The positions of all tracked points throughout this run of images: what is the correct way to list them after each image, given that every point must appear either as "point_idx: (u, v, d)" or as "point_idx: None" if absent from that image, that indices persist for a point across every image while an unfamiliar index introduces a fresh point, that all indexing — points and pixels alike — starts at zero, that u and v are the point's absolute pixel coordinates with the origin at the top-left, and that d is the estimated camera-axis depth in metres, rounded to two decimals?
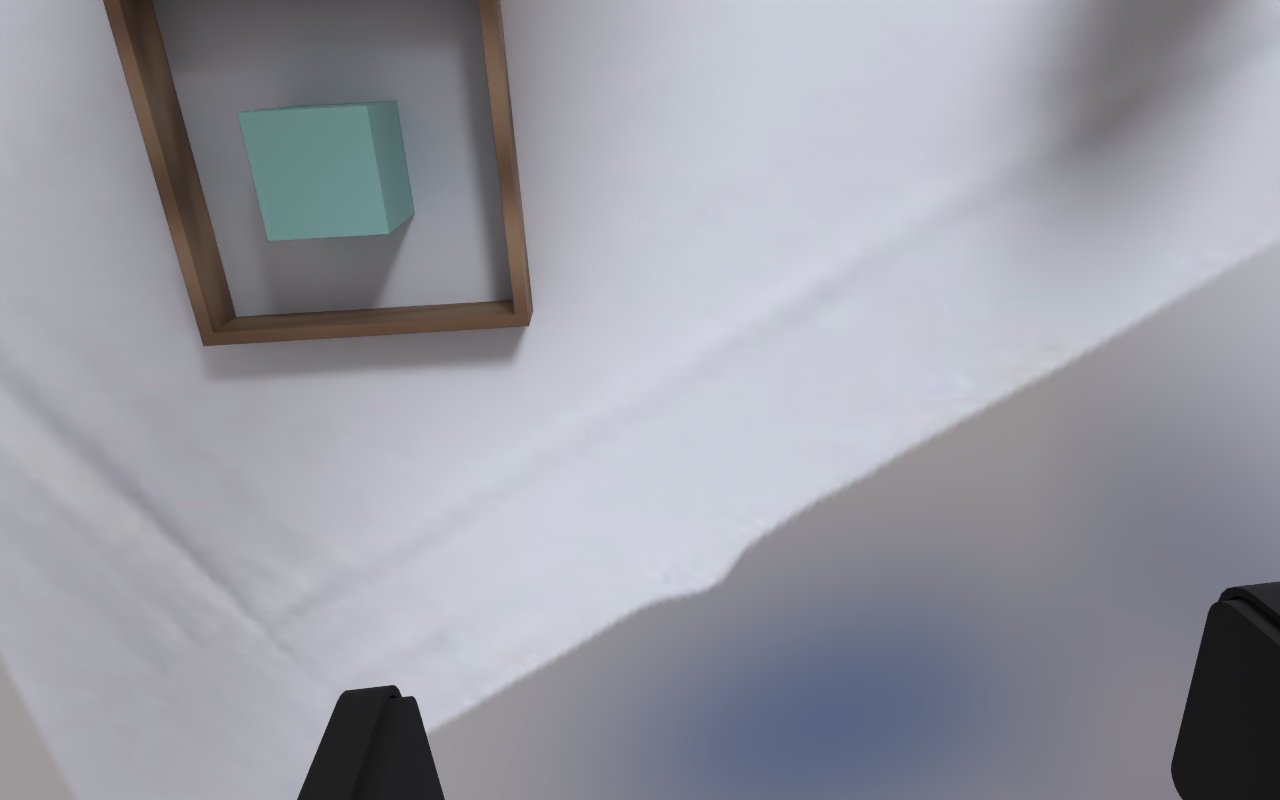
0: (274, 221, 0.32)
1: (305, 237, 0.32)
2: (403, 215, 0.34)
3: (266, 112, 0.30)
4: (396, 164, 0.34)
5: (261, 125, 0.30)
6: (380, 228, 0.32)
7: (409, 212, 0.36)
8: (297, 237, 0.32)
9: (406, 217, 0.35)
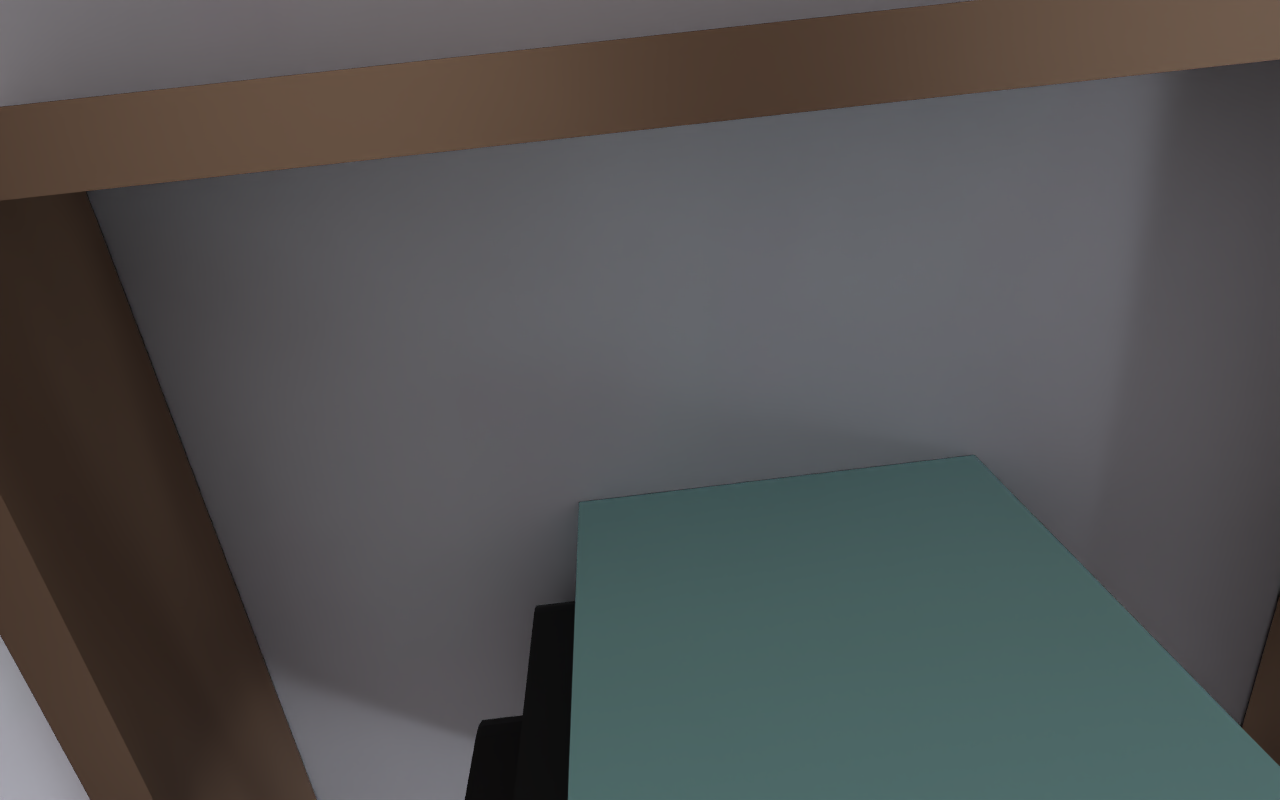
0: None
1: None
2: None
3: None
4: None
5: None
6: None
7: None
8: None
9: None
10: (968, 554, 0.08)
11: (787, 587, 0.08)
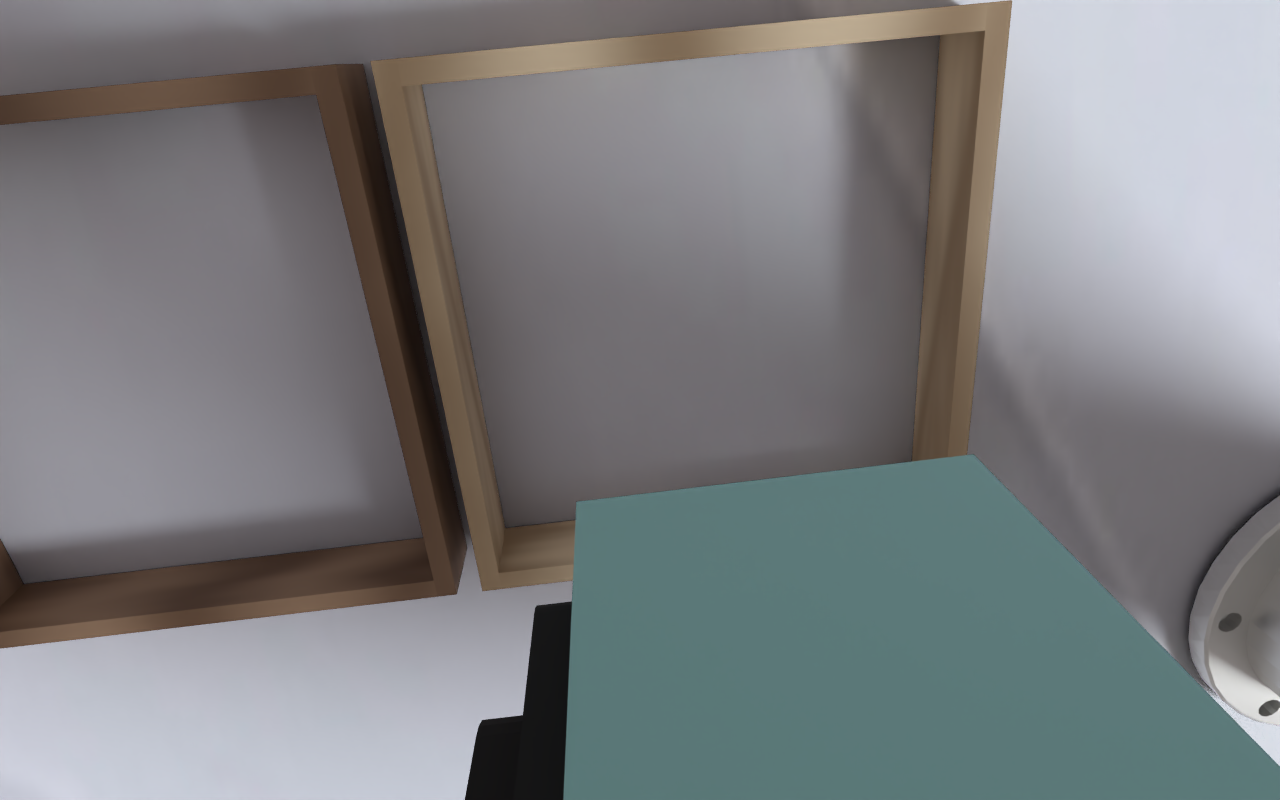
0: None
1: None
2: None
3: None
4: None
5: None
6: None
7: None
8: None
9: None
10: (968, 554, 0.08)
11: (784, 588, 0.08)
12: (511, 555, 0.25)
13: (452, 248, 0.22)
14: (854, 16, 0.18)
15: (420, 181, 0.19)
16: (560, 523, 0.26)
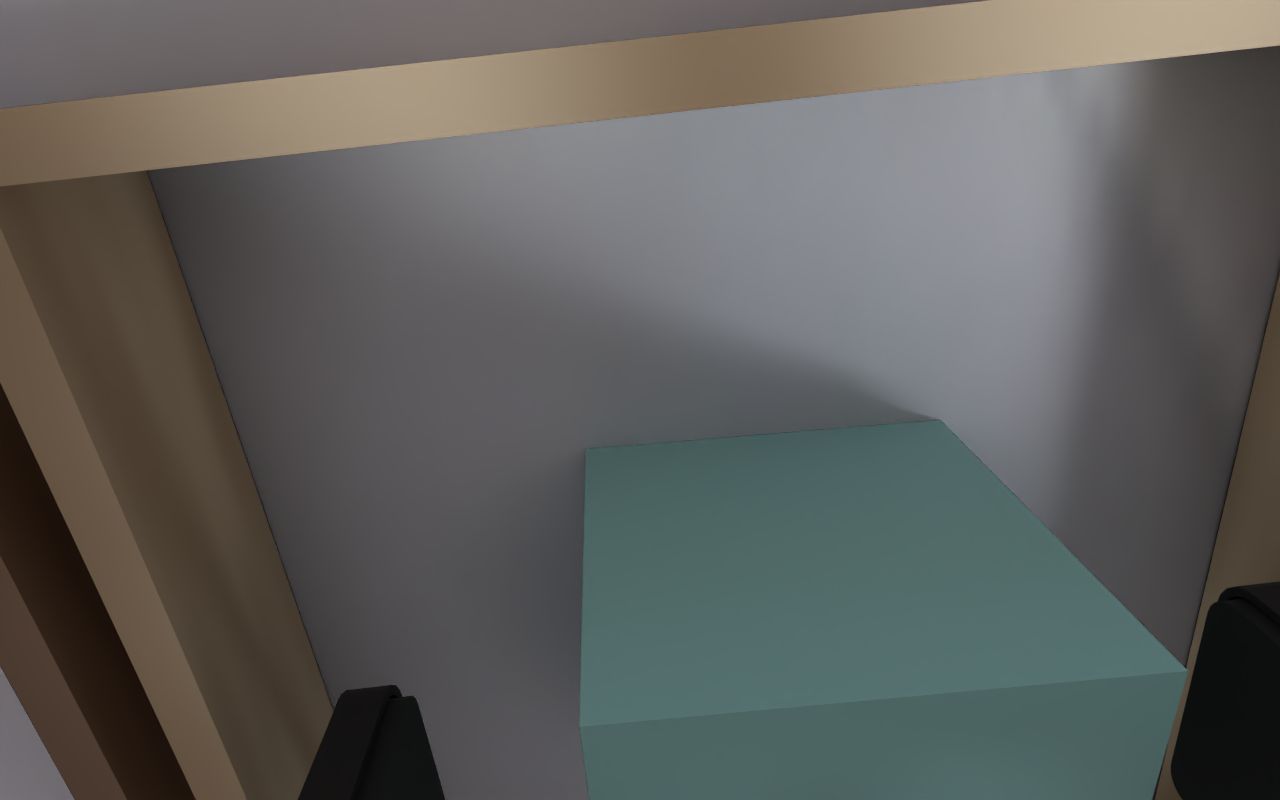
0: (678, 759, 0.06)
1: None
2: None
3: (1154, 771, 0.07)
4: None
5: (1108, 749, 0.07)
6: None
7: None
8: None
9: None
10: (925, 493, 0.09)
11: (768, 514, 0.09)
12: None
13: None
14: None
15: (82, 417, 0.07)
16: None
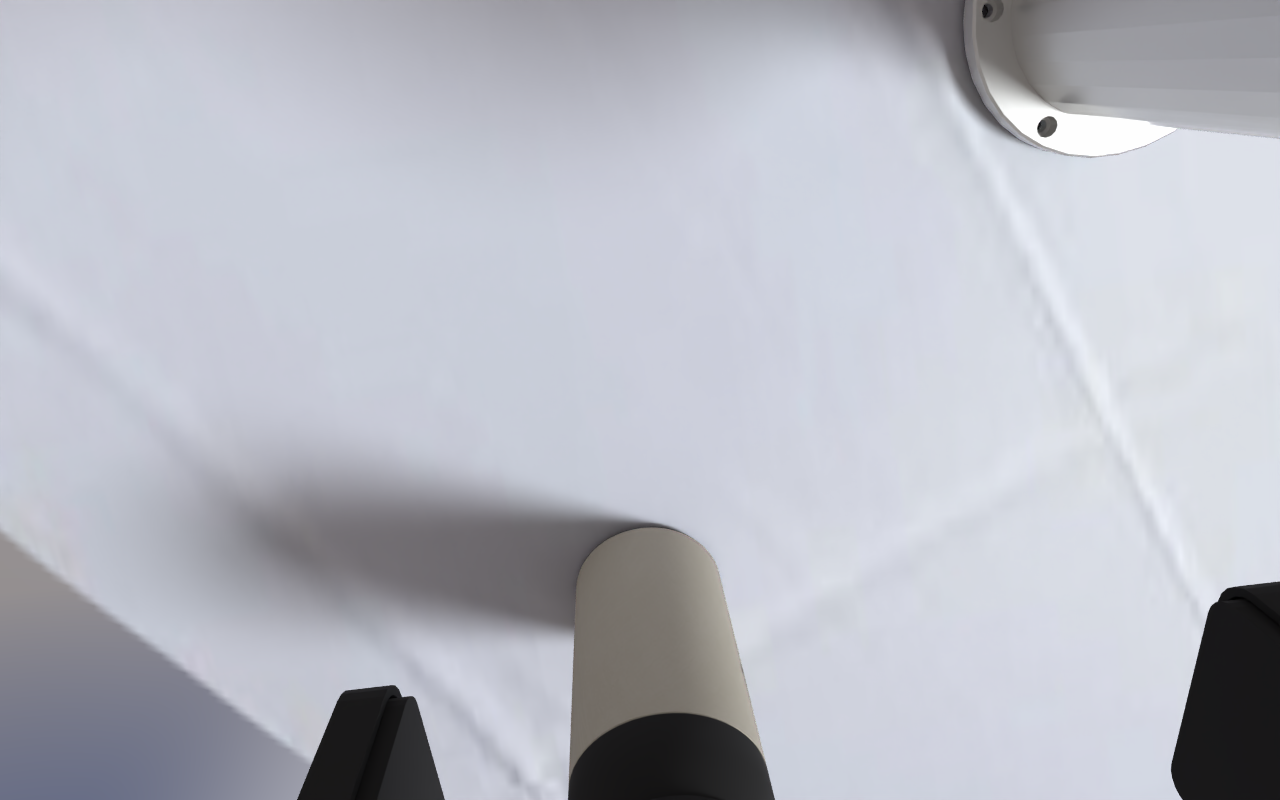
0: None
1: None
2: None
3: None
4: None
5: None
6: None
7: None
8: None
9: None
10: None
11: None
12: None
13: None
14: None
15: None
16: None
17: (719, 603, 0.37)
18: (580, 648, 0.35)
